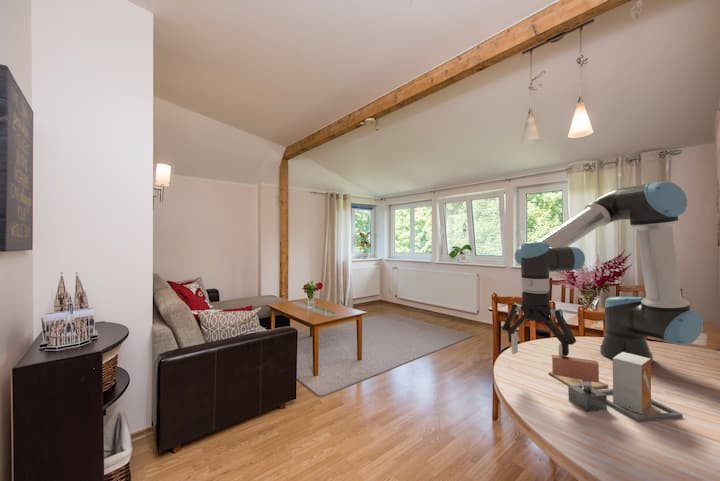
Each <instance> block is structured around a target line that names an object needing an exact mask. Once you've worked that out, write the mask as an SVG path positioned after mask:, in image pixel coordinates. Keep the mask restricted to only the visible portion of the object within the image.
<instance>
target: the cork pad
mask: <svg viewBox="0 0 720 481" xmlns="http://www.w3.org/2000/svg"><path fill="white" fill-rule="evenodd" d="M548 375H549V376H551V377H553V378H554V379H556V380H557V381H559V382H561V383H563V385H564V384H565V385H567V386H574V385H582V380H581V379H575V378H569V377H563V376H557V375H553V373H552V372H551V371H550V372H548ZM591 387H593V388H595V389H604V388H608V387H609V385H608V384H606V383H604V382H602V381H600V380H599V383H598V382H592V381H591Z"/></svg>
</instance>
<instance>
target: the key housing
mask: <svg viewBox="0 0 720 481" xmlns="http://www.w3.org/2000/svg"><path fill="white" fill-rule="evenodd" d="M567 386H568V385H567ZM598 390H599V389H598V388H593V387H591V391H585V390H583V389H582V385H574V386H568V390H567V391H568V392H567V393H568V401H570V402H571V403H572V404H574V405H576V406H577V407H579V408H581V409H582V410H584V411H585V412H587V413H588V412H598V411H607V410H608V405H607V400H608V398H607V396H608V394H604V393H602V392H600V391H598Z"/></svg>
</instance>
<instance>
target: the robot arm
mask: <svg viewBox="0 0 720 481" xmlns="http://www.w3.org/2000/svg"><path fill="white" fill-rule="evenodd" d="M687 206H688V199H687V195H686V193H685V190H683V189H682V187H680V186H679V185H678V184H676V183H675V182H672V181H667V180H666V181H655V182H649V183H643V184H638V185H632V186H631V185H630V186H628V187H627V186H626V187H620V188H616V189H613V190H611V191H609V192H607V193H605V194H603V195H601V196H599V197H598V198H596V199H595V200H593V201H591V202H590V203H588V204H586V205H585V206H584V208H583V211H581V212H580V213H578V214H576V215H575V216H573V217H572V218H571V219H569V220H567V221H565V222H564V223H562V224H561V225H560V226H558V227H557V228H555V229H554V230H552V231H550V232H549V233H547V234H546V235H544V236H543V237H542V238H540V239H538V240H536V241H525V242H522V243H521V245H520V246H519V247H518V248H517V249H516V250H515V252H514V260H515V263H517V264H518V265H519V266H520V271H521V272H520V275H521V289H522V291H521V302H522V304H519V303H518V302H515V303H513V304H511V310H510V312H509V314H508V316H507V318H506V320H505V321H504V323H503V326H502V327H501V328H502V330H504V331H506V332H507V333H508V342H509V343H511V354H512V355H516V354H517V353H518V347H519V346H518V345H519V344H518V343H519V342H518V332H516V330H518V328H520V326H521V325H523V324H524V323H525V322H526V321H527V320H529V321H531V322H537V323H543V324H544V325H545V326H546V327H547V328H548V329H549V330H550V332H551V333H552V334H553V335H554V336H555V338H556V339H557V340H558V341H559V342H560V343H559V344H558V356H565V357H568V355H569V354H570V348H569V345H574V344H576V342H577V339H576V338H575V336H574V334H573V332H572V330H571V328H570V326H569V325H568V323H567V321H566V319H565V317H564V314H563V313H564V312H563V310H562V309H560V308H559V309H552V308H551V298H550V294H551V293H549V291H550V272H561V271H562V272H564V271H565V272H566V271H567V272H571V271H577V270H579V269H582V268H583V266H584V265H585V264H586V263H585V262H586V256H585V253H584V252H583V251H582V249H580V248H579V247H576V246H571V245H573V244H574V243H575V242H578V241H579V240H580V239H582V238H583V237H585V236H586V235H588V234H589V233H591V232H593V231H594V230H595V229H597V228H598V227H605V226H607V225H609V224H610V223H613V222H617V221H620V220H621V221H623V220H629V223H630V224H629V225H630V227H633V228H634V229H635V230H636V231H637V232H636V233H637V239H638V245H639V246H638V247H639V252H640V253H639V254H640V261H641V269H642V276H643V283H644V291H645V297H639V296H612V297H611V296H610V297H607V298H606V299H605V304H604V318H605V319H604V320H605V334H604V337H603V340H602V343H601V345H600V351H599V352H600V354H601V355H602V356H603V357H606V358H608V359H610V360H613V358H614V357H615V356H616V355H618V354H620V353H622V352H625V353H630V354H634V355H638V356H642V357H646V358H650V359H651V364H652V363H653V362H654V357H653V356H654V355H653V354H652V352H651V349H650V347H649V345H648V342H647V337H648V338H652V339H656V340H660V341H661V342H662V341H663V342H666V343H668V344H675V345H678V346H687V345H690V344H692V343H694V342H695V341H696V340H698V339H699V337H700V335H701V334H702V331H703V327H704V320H703V317H702V316H701V315H700V313H698V312H696V311H694V310H691V306H690V302H689V301H688V300H686V299H685V298H683V294H682V289H681V288H682V287H681V280H680V274H679V266H678V265H679V264H678V260H677V259H678V258H677V251H676V250H677V249H676V243H675V242H676V241H675V236H674V226H675V224H677V223H678V222H679V216H682V215H683V214H684V213H685V212H686V209H687ZM519 311H522V313H523V314H522V315H521V316H520V318H519V319H518V320H516V322H514V324H513V325H512V323H513V321H514V320H515V318H516V316H517V314H518V313H519ZM551 315H553V317H554V318H555V320H556V322H557V324H558V325H559V327H558V326H557V325H556V324H555V322H554V321H553V319H552V318H551V317H550V316H551ZM560 329H561V330H560Z"/></svg>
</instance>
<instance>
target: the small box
mask: <svg viewBox="0 0 720 481" xmlns="http://www.w3.org/2000/svg"><path fill="white" fill-rule="evenodd" d="M651 364H652V363H651V359H650V358H646V357H642V356H638V355H634V354H630V353H625V352H622V353H620V354H618V355H616V356H615V357H614V358H613V359H612V389H613V394H612V402H613V403H615V404H616V405H618V406H620V407H622V408H624V409H625V410H628V411H631V412H635V413H638V414H640V415H643V414H644V413H645V412H646V411H647V410H648V409H649V408H650V406H652V404H651V399H652V377H651V376H652V372H651V371H652V370H651V369H652V367H651V366H652V365H651Z"/></svg>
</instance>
